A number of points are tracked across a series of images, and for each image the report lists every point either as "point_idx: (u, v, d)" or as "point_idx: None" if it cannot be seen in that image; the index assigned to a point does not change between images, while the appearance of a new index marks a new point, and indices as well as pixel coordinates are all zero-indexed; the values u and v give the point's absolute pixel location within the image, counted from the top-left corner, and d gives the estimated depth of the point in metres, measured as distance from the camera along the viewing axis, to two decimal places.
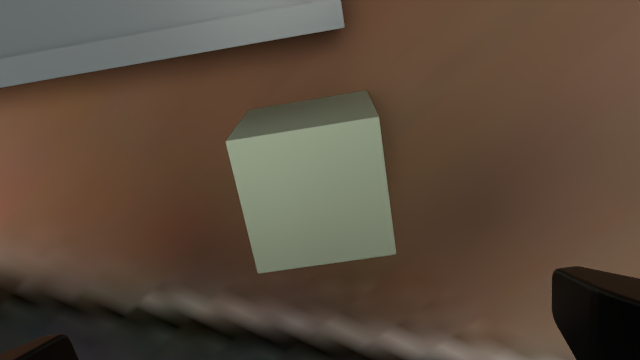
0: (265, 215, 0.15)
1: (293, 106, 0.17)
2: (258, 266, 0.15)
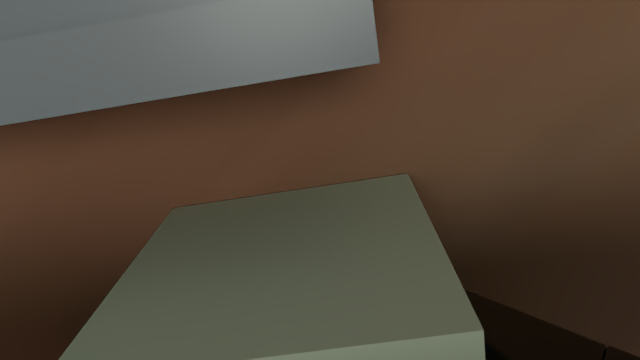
0: None
1: (257, 214, 0.08)
2: None
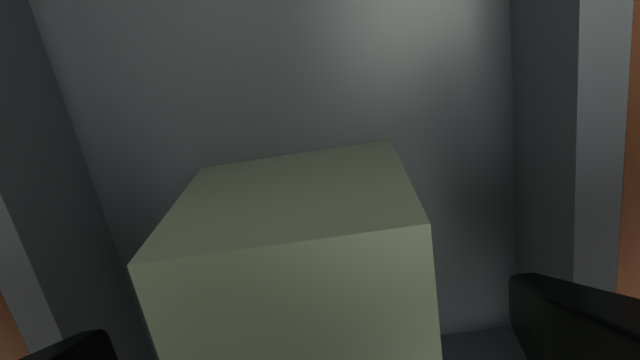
0: None
1: (270, 169, 0.10)
2: None
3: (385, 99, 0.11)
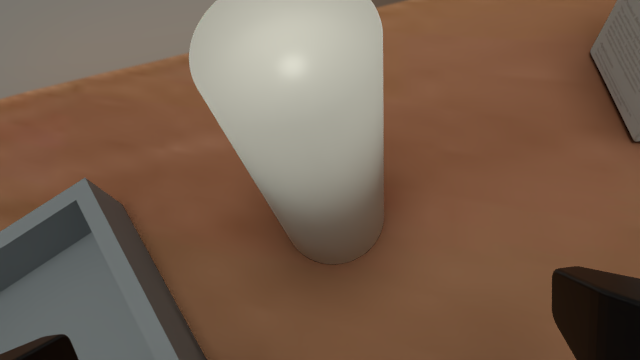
0: None
1: None
2: None
3: None
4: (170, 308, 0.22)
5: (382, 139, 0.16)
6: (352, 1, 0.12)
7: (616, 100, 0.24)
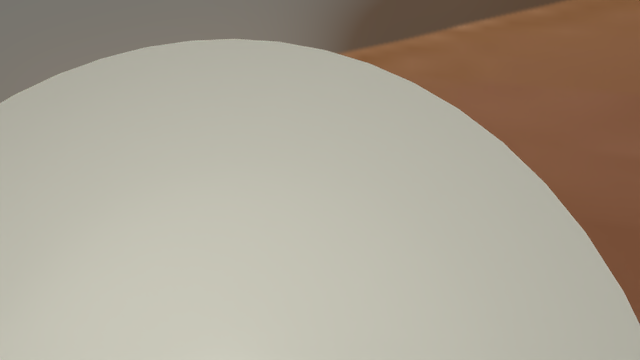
0: None
1: None
2: None
3: None
4: None
5: None
6: (478, 214, 0.03)
7: None
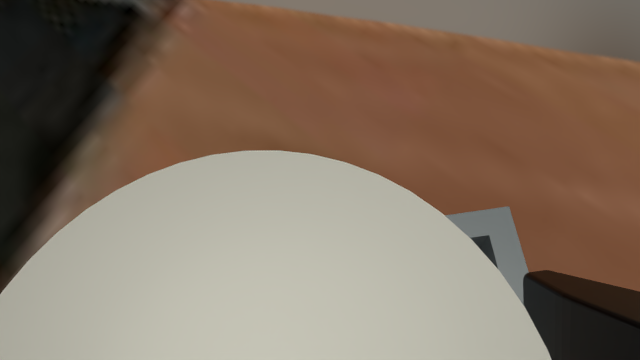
0: None
1: None
2: None
3: None
4: None
5: None
6: (453, 293, 0.04)
7: None
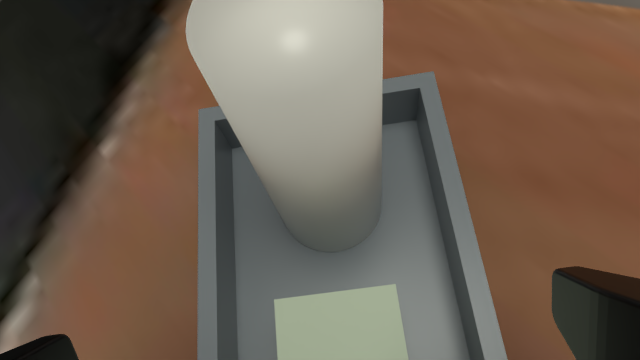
0: None
1: None
2: None
3: (389, 284, 0.22)
4: None
5: (381, 120, 0.15)
6: None
7: None
